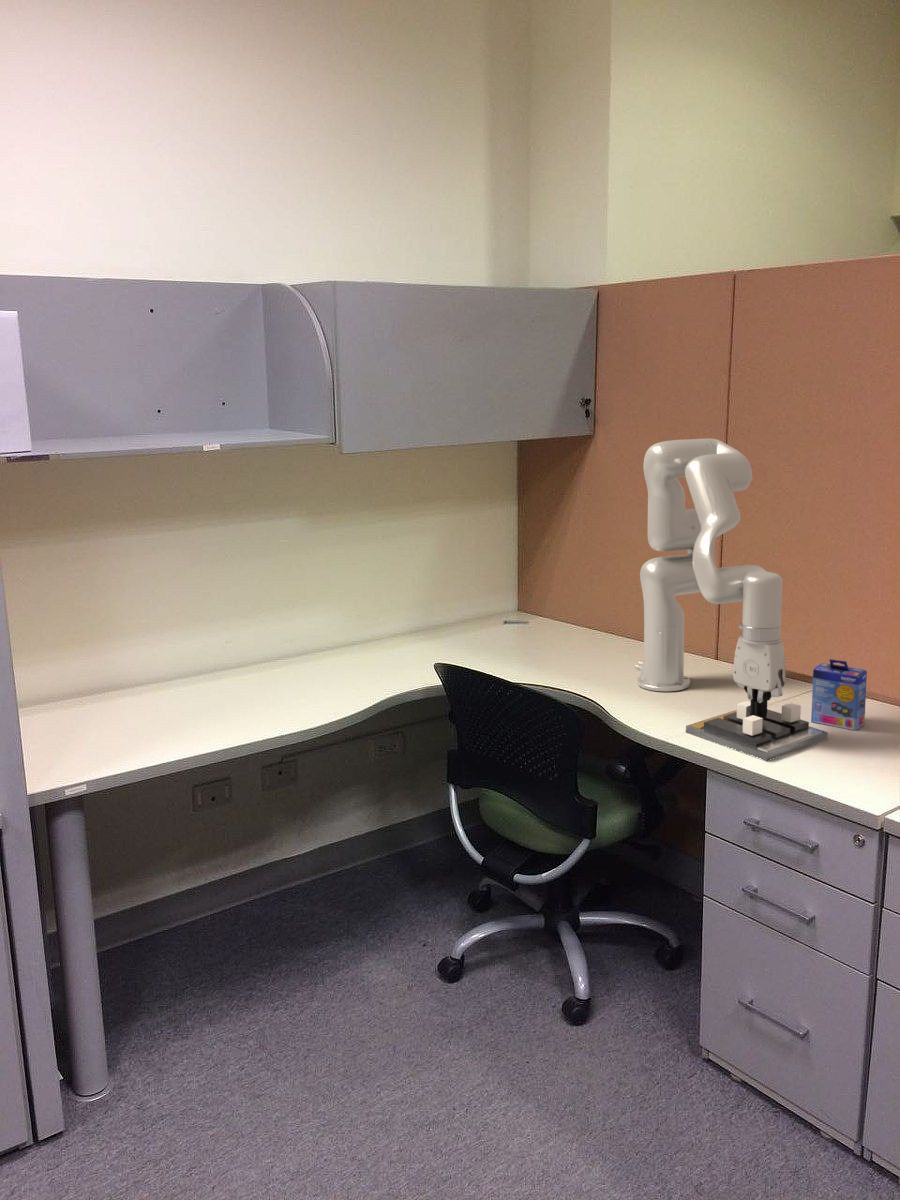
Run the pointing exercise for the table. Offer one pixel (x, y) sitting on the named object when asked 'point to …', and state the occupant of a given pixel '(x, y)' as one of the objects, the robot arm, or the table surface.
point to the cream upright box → (752, 725)
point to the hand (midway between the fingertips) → (758, 718)
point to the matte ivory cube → (743, 709)
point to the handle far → (791, 712)
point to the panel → (752, 749)
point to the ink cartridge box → (839, 695)
